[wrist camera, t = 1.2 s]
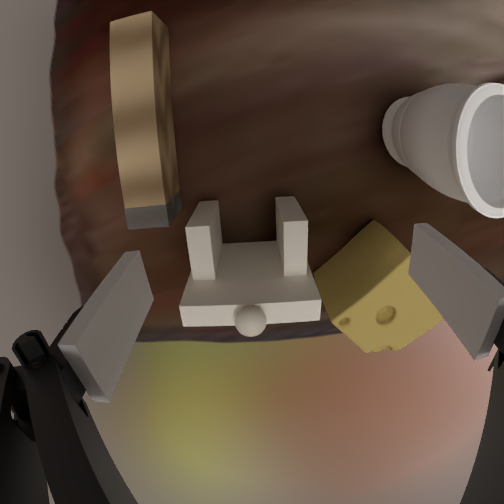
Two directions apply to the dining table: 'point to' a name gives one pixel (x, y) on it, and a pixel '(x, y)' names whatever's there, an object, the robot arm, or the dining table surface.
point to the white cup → (453, 141)
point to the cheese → (375, 292)
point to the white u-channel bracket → (249, 273)
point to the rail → (144, 120)
